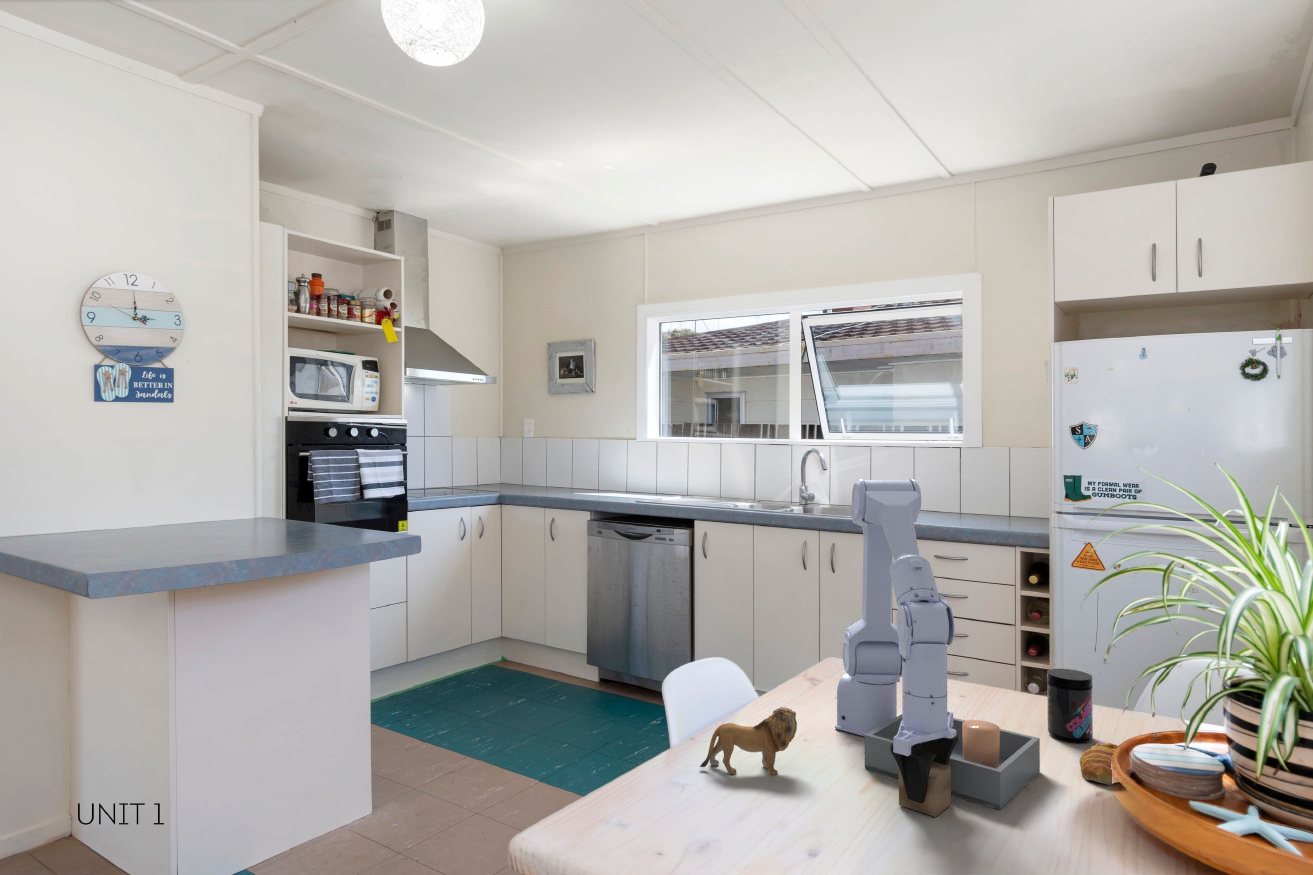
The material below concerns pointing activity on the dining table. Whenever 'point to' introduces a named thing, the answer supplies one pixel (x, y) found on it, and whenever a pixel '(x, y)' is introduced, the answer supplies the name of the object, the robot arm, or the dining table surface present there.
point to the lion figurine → (755, 739)
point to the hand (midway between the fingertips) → (924, 793)
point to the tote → (967, 764)
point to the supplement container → (1070, 705)
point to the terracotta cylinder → (981, 742)
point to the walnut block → (931, 791)
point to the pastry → (1098, 763)
